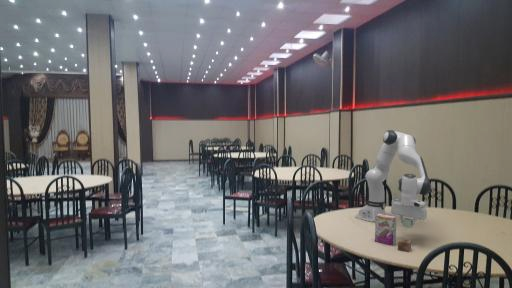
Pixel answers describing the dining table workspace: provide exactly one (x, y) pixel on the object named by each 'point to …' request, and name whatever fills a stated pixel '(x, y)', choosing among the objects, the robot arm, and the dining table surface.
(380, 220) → the candy bar box
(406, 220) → the sage cube
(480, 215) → the dining table surface
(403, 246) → the walnut block
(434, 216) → the dining table surface
